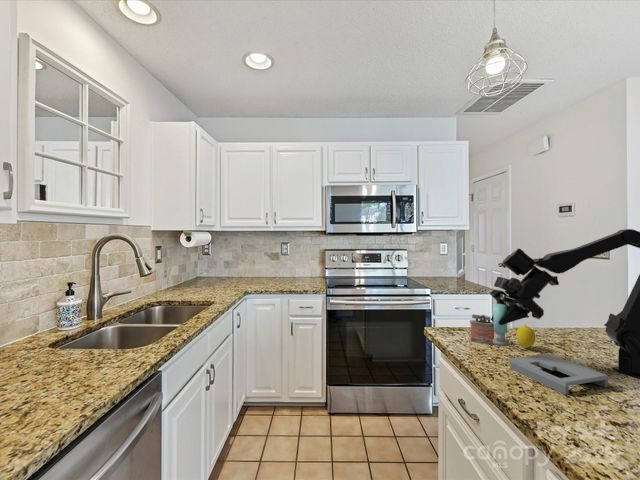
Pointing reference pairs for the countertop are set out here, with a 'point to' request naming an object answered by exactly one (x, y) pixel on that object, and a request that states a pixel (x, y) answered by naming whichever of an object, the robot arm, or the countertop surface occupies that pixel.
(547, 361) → the keyhole plate
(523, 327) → the lemon
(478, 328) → the lighter
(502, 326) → the peg
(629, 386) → the countertop surface
